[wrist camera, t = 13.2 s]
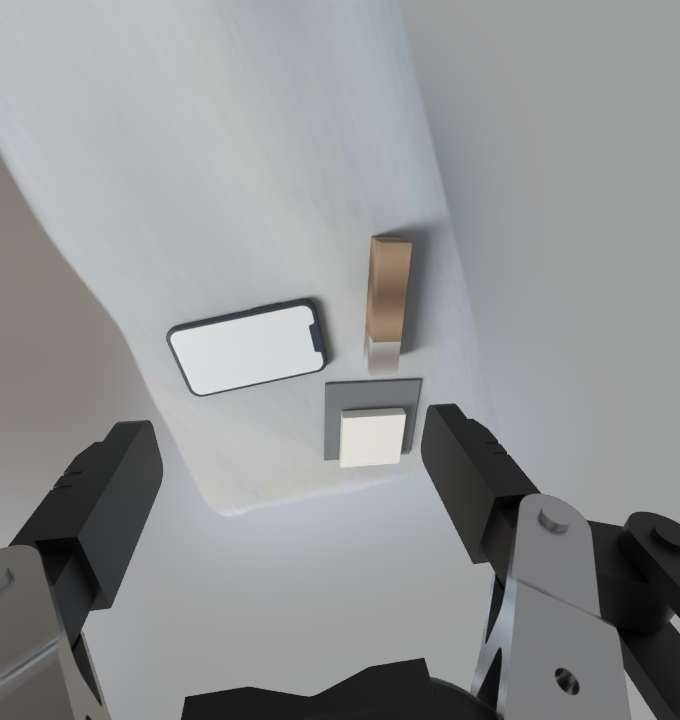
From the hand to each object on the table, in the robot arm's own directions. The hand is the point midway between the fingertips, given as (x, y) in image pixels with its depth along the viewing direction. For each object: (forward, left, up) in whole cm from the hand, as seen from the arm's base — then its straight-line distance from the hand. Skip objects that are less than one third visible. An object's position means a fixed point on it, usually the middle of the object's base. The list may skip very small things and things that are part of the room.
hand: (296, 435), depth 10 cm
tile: (+19, +10, -27) cm, 34 cm away
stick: (+5, +10, -28) cm, 30 cm away
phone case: (+10, -4, -29) cm, 31 cm away
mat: (+21, +10, -28) cm, 36 cm away
